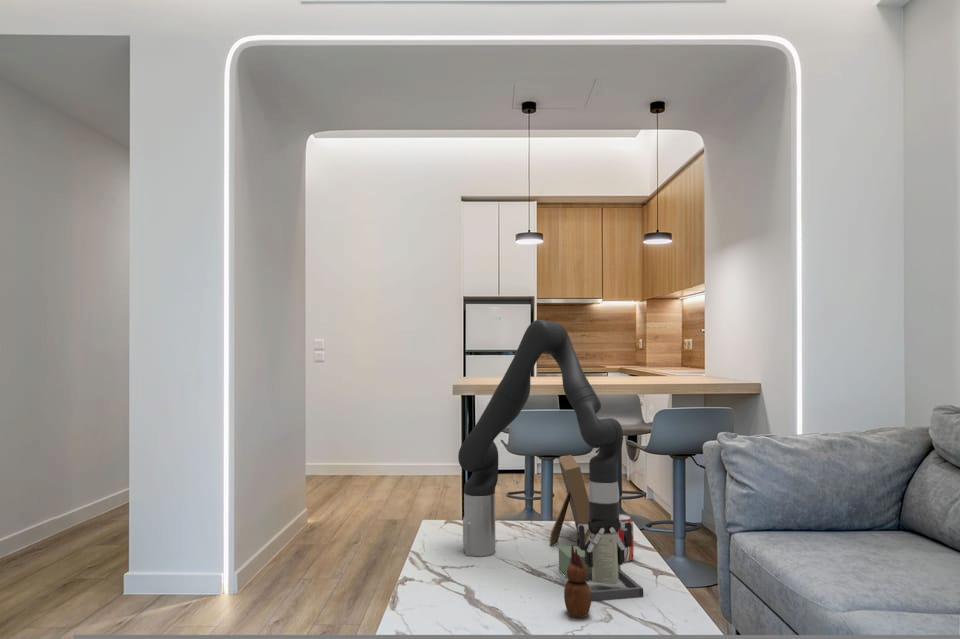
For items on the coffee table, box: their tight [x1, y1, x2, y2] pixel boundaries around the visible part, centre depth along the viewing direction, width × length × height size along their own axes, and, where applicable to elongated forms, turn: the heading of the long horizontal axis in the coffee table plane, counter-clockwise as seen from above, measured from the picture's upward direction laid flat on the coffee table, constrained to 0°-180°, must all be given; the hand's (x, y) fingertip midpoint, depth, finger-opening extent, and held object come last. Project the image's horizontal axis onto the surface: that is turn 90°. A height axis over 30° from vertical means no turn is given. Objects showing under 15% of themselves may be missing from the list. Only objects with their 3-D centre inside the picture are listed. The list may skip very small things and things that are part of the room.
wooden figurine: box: [563, 544, 592, 619], centre depth 151 cm, size 7×6×15 cm
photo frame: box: [549, 454, 591, 547], centre depth 208 cm, size 15×22×25 cm
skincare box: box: [591, 533, 620, 585], centre depth 167 cm, size 6×4×12 cm
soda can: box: [617, 513, 635, 563], centre depth 190 cm, size 7×7×12 cm
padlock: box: [558, 545, 644, 602], centre depth 171 cm, size 14×23×6 cm, turn 11°
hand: (604, 565), depth 167 cm, fingers closed on skincare box, 7 cm apart
